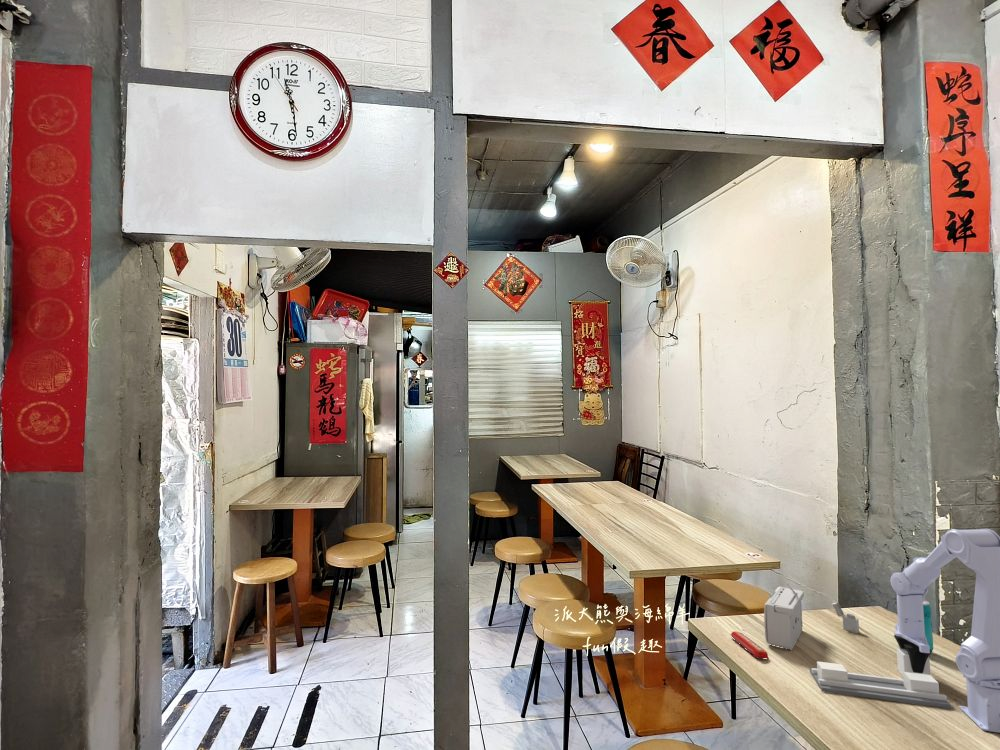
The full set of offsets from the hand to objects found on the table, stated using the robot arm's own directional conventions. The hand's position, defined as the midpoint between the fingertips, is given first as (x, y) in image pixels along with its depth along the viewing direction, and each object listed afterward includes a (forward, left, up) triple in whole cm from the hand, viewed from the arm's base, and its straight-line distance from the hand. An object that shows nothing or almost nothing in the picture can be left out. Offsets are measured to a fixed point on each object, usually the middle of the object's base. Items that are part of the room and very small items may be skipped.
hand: (913, 668), depth 141 cm
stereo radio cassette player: (+16, +28, -2) cm, 32 cm away
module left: (-11, +23, -2) cm, 26 cm away
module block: (0, 0, -2) cm, 2 cm away
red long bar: (+5, +41, -2) cm, 41 cm away
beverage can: (+17, -9, -2) cm, 19 cm away
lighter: (+29, +7, -2) cm, 30 cm away
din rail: (-11, +13, -2) cm, 17 cm away
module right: (-11, +3, -2) cm, 12 cm away
